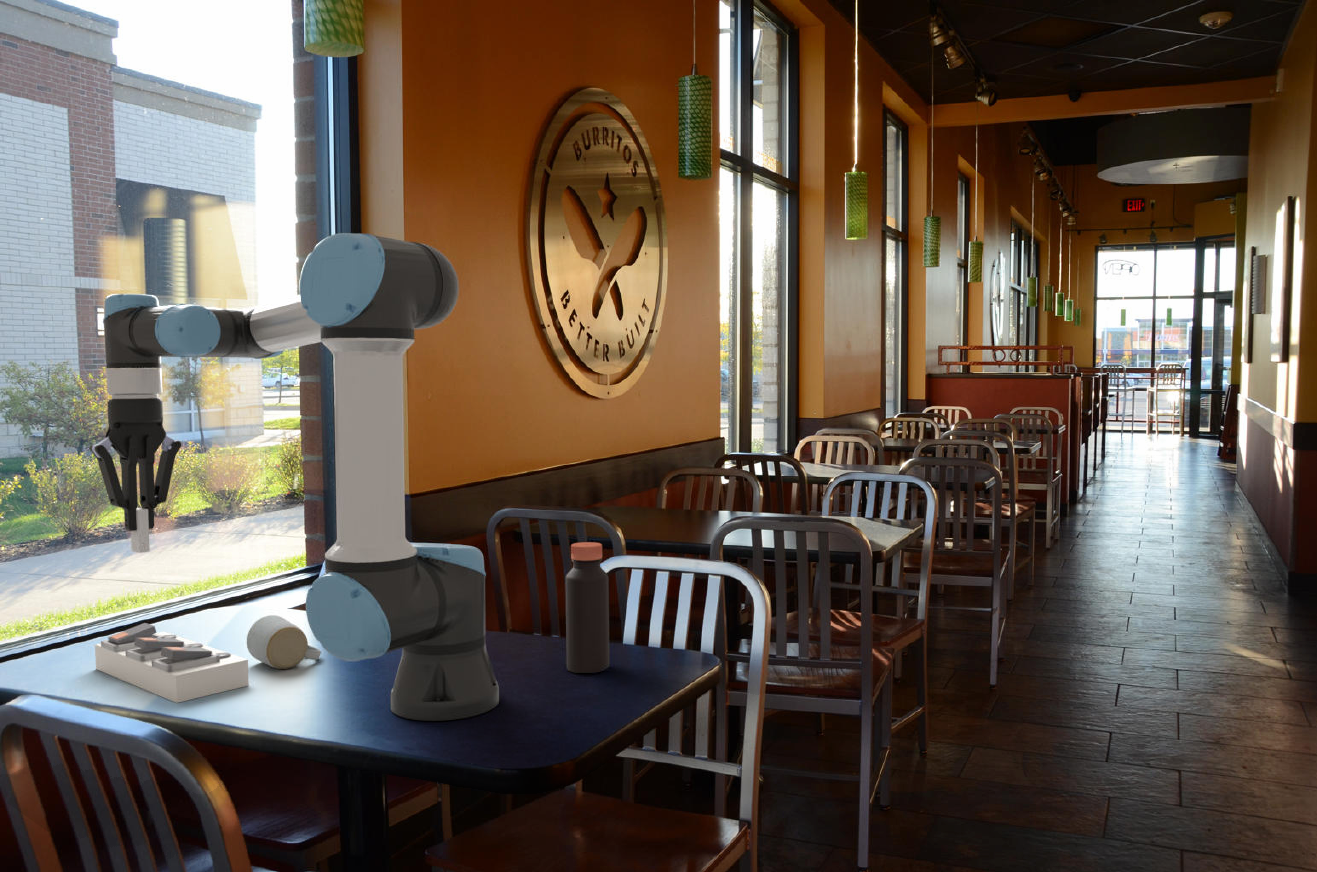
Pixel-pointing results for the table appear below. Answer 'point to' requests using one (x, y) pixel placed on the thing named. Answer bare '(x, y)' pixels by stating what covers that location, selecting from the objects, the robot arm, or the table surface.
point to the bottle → (587, 610)
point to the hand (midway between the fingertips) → (140, 551)
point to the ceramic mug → (279, 643)
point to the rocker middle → (157, 643)
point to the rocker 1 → (132, 634)
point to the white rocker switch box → (172, 669)
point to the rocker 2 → (185, 652)
